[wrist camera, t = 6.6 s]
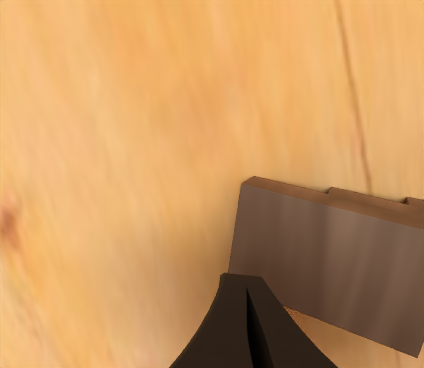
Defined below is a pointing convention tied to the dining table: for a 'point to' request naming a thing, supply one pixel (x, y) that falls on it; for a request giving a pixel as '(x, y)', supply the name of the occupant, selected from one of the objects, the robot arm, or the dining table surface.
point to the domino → (335, 259)
